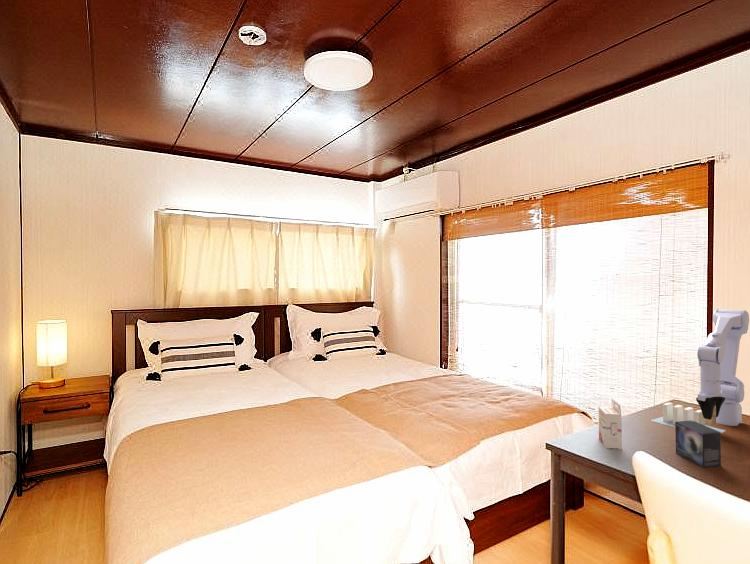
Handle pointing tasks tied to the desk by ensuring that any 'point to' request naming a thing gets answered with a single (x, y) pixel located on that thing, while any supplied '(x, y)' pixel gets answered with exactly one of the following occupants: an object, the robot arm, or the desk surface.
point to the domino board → (670, 423)
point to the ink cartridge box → (610, 426)
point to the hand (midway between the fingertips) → (710, 417)
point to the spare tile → (713, 420)
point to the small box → (698, 443)
